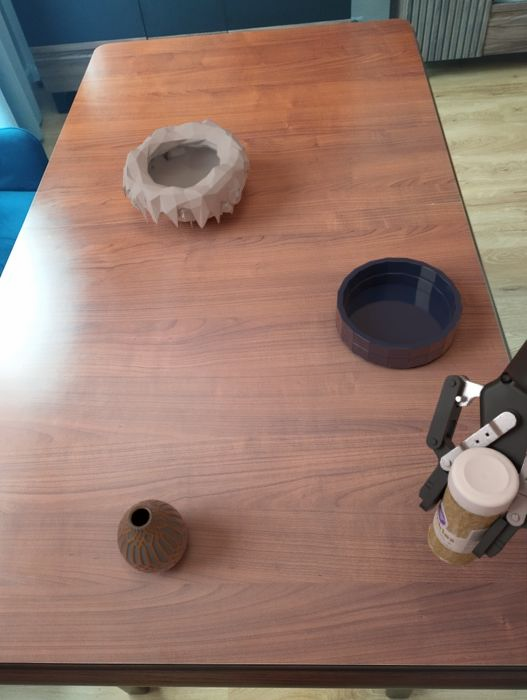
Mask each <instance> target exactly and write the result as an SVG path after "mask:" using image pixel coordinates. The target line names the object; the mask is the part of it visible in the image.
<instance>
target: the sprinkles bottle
mask: <svg viewBox="0 0 527 700" xmlns="http://www.w3.org/2000/svg"><path fill="white" fill-rule="evenodd" d="M518 489H519V474H518V473H517V470H516V468H515V466H514V465H513V463H512V462H511V461H510V460H509V459H508V458H507V457H506V456H504V455H503V454H501V453H500V452H498V451H496V450H493V449H490V448H486V447H474V448H470V449H467V450H465V451H463V452H462V453H460V454H459V455H458V456H457V457H456V459H455V460H454V462H453V464H452V466H451V469H450V471H449V475H448V485H447V487H446V490H445V492H444V495H443V497H442V499H441V500H440V501H439V503H438V504H437V507H436V511H435V513H434V516H433V520H432V522H431V523H430V524H429V527H428V530H427V543H428V547H429V548H430V550H431V552H432V554H434V556H435V557H436V558H437V559H439V560H440V561H441V562H443V563H445V564H447V565H449V566H454V567H455V566H456V567H463V566H467V565H469V564H471V563H472V562H474V561H475V560H476V559H477V558H478V557H477V556H475V555H474V554H473V553H472V550H473V549H474V548H475V547H476V545H477V544H478V543H479V542H480V540H481V539H482V538H483V537H484V535H485V534H486V533H487V532H488V530H489V529H490V528H491V527H492V525H493V524H494V523H495V522H496V520H497V519H498V518H499V517H500V516H501V515H502V514H503V513H504V512H506V511H507V510H508V509H509V506H510V504H511V503H512V501H513V500H514V498H515V496H516V494H517V492H518Z"/></svg>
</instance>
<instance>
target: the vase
mask: <svg viewBox="0 0 527 700" xmlns="http://www.w3.org/2000/svg"><path fill="white" fill-rule="evenodd" d="M116 533H117V534H116V540H117V541H116V542H117V546H118V550H119V553H120V554H121V556H122V558H123V560H124V561H125V562H126V563H127V564H128V565H129V566H130V567H132V568H133V569H134V570H137V571H138V572H141V573H145V574H160V573H164V572H166V571H169V570H170V569H171V568H173V567H175V566H176V565H177V563H178V562H179V561H180V560H181V558H182V557H183V555H184V553H185V551H186V549H187V544H188V537H189V536H188V534H189V533H188V529H187V524H186V521H185V519H184V518H183V515H182V514H181V513H180V511H179V510H178V508H175V506H173V505H172V504H170V503H168V502H167V501H164V500H160V499H154V498H153V499H144V500H141V501H138V502H137V503H134V504H133V505H131V506H130V508H128V509H127V510H126V511H125V512H124V513H123V515H122V517H121V519H120V521H119V523H118V527H117V531H116Z"/></svg>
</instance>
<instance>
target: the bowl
mask: <svg viewBox="0 0 527 700" xmlns="http://www.w3.org/2000/svg"><path fill="white" fill-rule="evenodd" d="M246 152H247V151H246V147H245V146H244V144H242V142H241V141H240V140H239V139H238V138H237V137H236V136H235V135H234V133H233V132H232V131H231V129H227V128H224V127H222V126H221V125H220V124H218V123H217V122H215V121H213V120H212V119H210V118H205V119H204V120H202V121H189V122H185V123H181V124H180V125H168V126H163V127H160V128H157V129H155V130H154V131H153V133H151V134H150V135H148V136H147V137H146V138H145V140H143V141H142V143H140V145H138V146H137V147H136V148H134V149H132V150H130V151H129V152H128V153H127V155H126V160H125V165H124V167H122V170H123V171H122V173H123V174H122V191H123V193H124V197H125V198H128V199H129V201H130V202H131V205H132V207H133V208H134V209H137V211H138V213H139V214H140V213H141V214H142V216H143V218H144V220H145V222H146V224H147V225H148V217H147V212H148V213H149V214H150V216H151V219H152V221H153V222H154V223H156V224H158V223H159V220H160V219H161V220H162V221H171V222H172V223H173V224H174V225H175V227H176V228H179V222H185V223H187V222H189V223H190V226H191V228H194V226H193V222H195V221H196V223H197V224H198V226H199V227H200V228H201V229H204V227H205V225H206V223H207V221H208V219H211V218H213V217H214V218H215V219H216V221H217V223H218V224H220V219H221V216H224V215H223V213H230V214H231V215H232V216H233V213H234V206H235V205H238V204H239V202H240V201H241V199H242V193H243V190H244V188H245V186H246V182H247V179H248V174H249V173H248V172H249V171H250V165H251V164H250V159H249V157H248V154H247V153H246ZM146 211H147V212H146Z"/></svg>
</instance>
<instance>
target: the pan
mask: <svg viewBox="0 0 527 700" xmlns="http://www.w3.org/2000/svg"><path fill="white" fill-rule="evenodd" d="M336 293H337V294H336V318H335V319H336V320H335V323H336V329H337V332H338V334H339V336H340V339H341V340H342V342H343V343H344V344H345V345H346V346H347V347H348V349H349V350H350V351H351V352H353V353H354V355H357V356H358V357H359V358H362V359H363V360H365V361H366V362H369V363H372V364H374V365H378V366H382V367H385V368H393V369H409V368H414V367H418V366H423V365H427V364H428V363H430V362H432V361H434V360H436V359H437V358H439V357H441V356H443V354H444V353H446V351H447V350H448V349H449V348H450V347H451V345H453V342H454V339H455V337H456V334H457V330H458V327H459V324H460V320H461V316H462V314H463V313H462V312H463V302H462V295H461V293H460V291H459V290H458V288H457V286H456V284H455V282H454V281H453V280H452V279H451V278H450V277H449V276H447V274H446V273H444V271H442V269H440V268H438V267H435V266H433V265H431V264H429V263H427V262H425V261H423V260H417V259H414V258H409V257H394V256H393V257H389V256H388V257H383V258H379V259H373V260H369V261H367V262H365V263H363V264H361V265H359V266H357V267H355V268H354V269H353V270H351V272H349V273H348V274H347V275H346V276H345V277H344V278H343V279H342V282H341V284H340V286H339V288H338V290H337V292H336Z"/></svg>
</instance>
